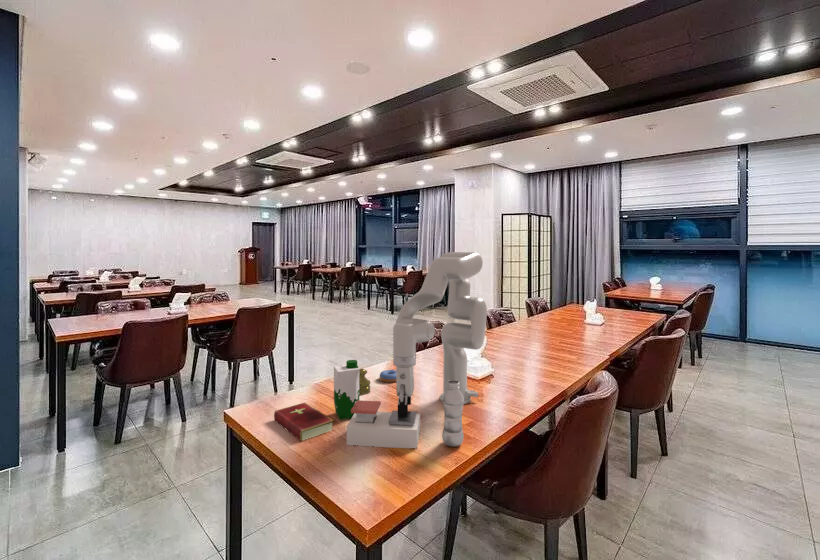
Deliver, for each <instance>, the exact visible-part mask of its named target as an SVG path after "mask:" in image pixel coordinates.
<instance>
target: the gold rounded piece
mask: <svg viewBox="0 0 820 560" xmlns="http://www.w3.org/2000/svg"><path fill="white" fill-rule="evenodd" d="M359 369H360V370H359V395H366V394H368V393H370V392H371V381H370V379H369V378H368V377H366V375H367V373H368V370H367V369H364V368H359Z"/></svg>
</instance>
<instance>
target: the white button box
mask: <svg viewBox="0 0 820 560" xmlns="http://www.w3.org/2000/svg"><path fill="white" fill-rule="evenodd" d="M391 414H392V412H390V411H377V413H376V420H375V422H374V423H356V413H354V415H353V417H352V418H350V420H349V422H348V424H347V425H346V446H353V445H356V447H357V445H358V447H372V446H374V448H376V447H377V448H392V449H393V448H395V449H410V448H415V449H414V450H417V449H418V444H419V440H420V439H419V438H420V434H419V433H420V432H421V413H418V412H417V415H416V419H415V424H414V425H395V424H389V419H390V416H391Z"/></svg>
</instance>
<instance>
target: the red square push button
mask: <svg viewBox="0 0 820 560" xmlns="http://www.w3.org/2000/svg"><path fill="white" fill-rule="evenodd" d="M381 404H382V403H381V401H380V400H360V399H359V400H357V402H356V403H355V405H354V406H353V408H352V409H351V413H356V423H374V422H375V420H376V413H377V412H379V409H380V406H381Z"/></svg>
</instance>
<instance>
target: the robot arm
mask: <svg viewBox="0 0 820 560" xmlns="http://www.w3.org/2000/svg"><path fill="white" fill-rule="evenodd" d="M482 269H483V258H482V256H481V254H480V253H478V252H474V251H466V252H465V251H464V252H463V251H450V252H444V253H443V254H442V255H441V256H440V257H437V258H434V259H433V261H431V263H430V266H429V268H428V271H427V273H426V275H425V279H424V281H423V283H422V286H421V288H420V290H419V291H418V292H415V294H414V295H412V296H411V297H410V298H409V299H408V300H406V302H405V303H404V304H403V305H402V306H401V309H400V311H399V313H398V315H397V318H396V320H395V323H394V325H393V328H392V329H393V330H392V335H393V336H392V339H393V340H392V341H393V342H392V345H393V347H392V348H393V349H392V350H393V352H392V354H393V355H392V357H393V358H392V362H393V363H392V364H393V366H395V367H396V382H395V384H396V385H395V386H396V387H395V388H396V396H397V397H398V400H397V411H398V416H402V417H407V416H408V411H409V409H408V407H409V406H411V404H412V396H413V393H414V389H415V383H414V382H415V381H414V379H415V378H414V377H415V376H414V374H415V372H414V367H415V366H416V363H417V343H427V342H429V341H430V340H432V339H433V337H434V336H435V334H436V333H435V332H436V327H435V325H434V323H433V322H432V321H430V320H427V319H419V318H414V316H415V315H416V314H417V313H418V312H419V311H421V310H422V309H425V308H427V307H430V306H432V305H435V304H437V303H440V302H441V301H442V300H443V298H444V295H445V292H446V290H447V287H448V286H449V289H448V299H447V316H448V317H449V318H451V319H453V320H454V319H455V320H460V321H470V324H468V323H461V322H453V321H452V322H447V323H445V324H444V325H443V326H442V328H441V331H440V336H441V341H442V342H441V343H442V349H443V351H442V352H443V370H442V371H443V376H442V377H443V381H442V382H443V385H442V386H443V388H442V389H443V391H442V393H440V395H439V401H441V402H442V403H443V396H444V394H445V392H446V391H447V390H448V388H447V382H448V381H449V380H456V381H459V386H460V388H459V390H460V392H461V393H462V395H463V397H464V404H463V405H467V404H468V403H470V402H471V399H472V398H478V397H479V392H478V391H476V390H470V389H469V388H468V357H467V356H468V355H467V352H466V350H465V349H468V350H480V349H481V348H482V347H483V346H484V344H485V343H484V342H485V339H486V337H485V336H486V328H487V327H486V325H487V316H488V314H487V313H488V307H487V303H486V301H485V300H484V299H483V298H481V297H476V296H471V282H470V280H469V279H471V278H472V277H474V276H476V275H477V274H479V273H480V272H481V270H482ZM471 397H472V398H471Z"/></svg>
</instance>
